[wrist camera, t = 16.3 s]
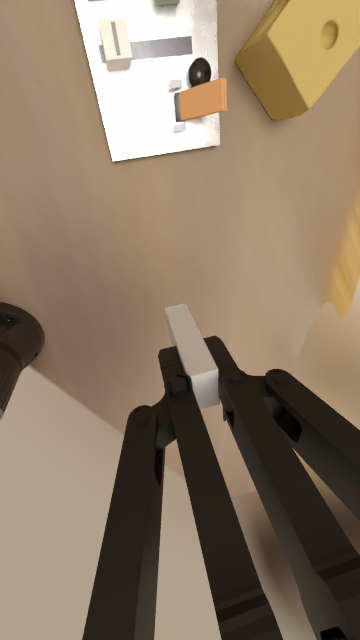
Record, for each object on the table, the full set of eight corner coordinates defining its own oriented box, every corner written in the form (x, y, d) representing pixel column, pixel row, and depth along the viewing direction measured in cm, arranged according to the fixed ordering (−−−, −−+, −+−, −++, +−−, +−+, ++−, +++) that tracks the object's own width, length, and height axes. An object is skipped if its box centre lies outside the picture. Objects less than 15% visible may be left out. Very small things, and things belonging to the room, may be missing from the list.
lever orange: (175, 121, 35) (221, 110, 30) (172, 94, 33) (220, 77, 29) (181, 121, 36) (227, 110, 31) (178, 94, 34) (226, 78, 29)
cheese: (284, -20, 31) (343, -83, 23) (320, 61, 37) (379, 33, 29) (229, 62, 35) (264, 32, 26) (270, 125, 40) (310, 117, 32)
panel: (112, 161, 38) (112, 161, 35) (60, -57, 26) (53, -86, 23) (215, 145, 40) (223, 144, 36) (208, -63, 28) (220, -91, 25)
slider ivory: (107, 70, 31) (106, 59, 27) (100, 35, 29) (98, 18, 25) (130, 68, 31) (132, 56, 28) (124, 33, 29) (125, 16, 26)
